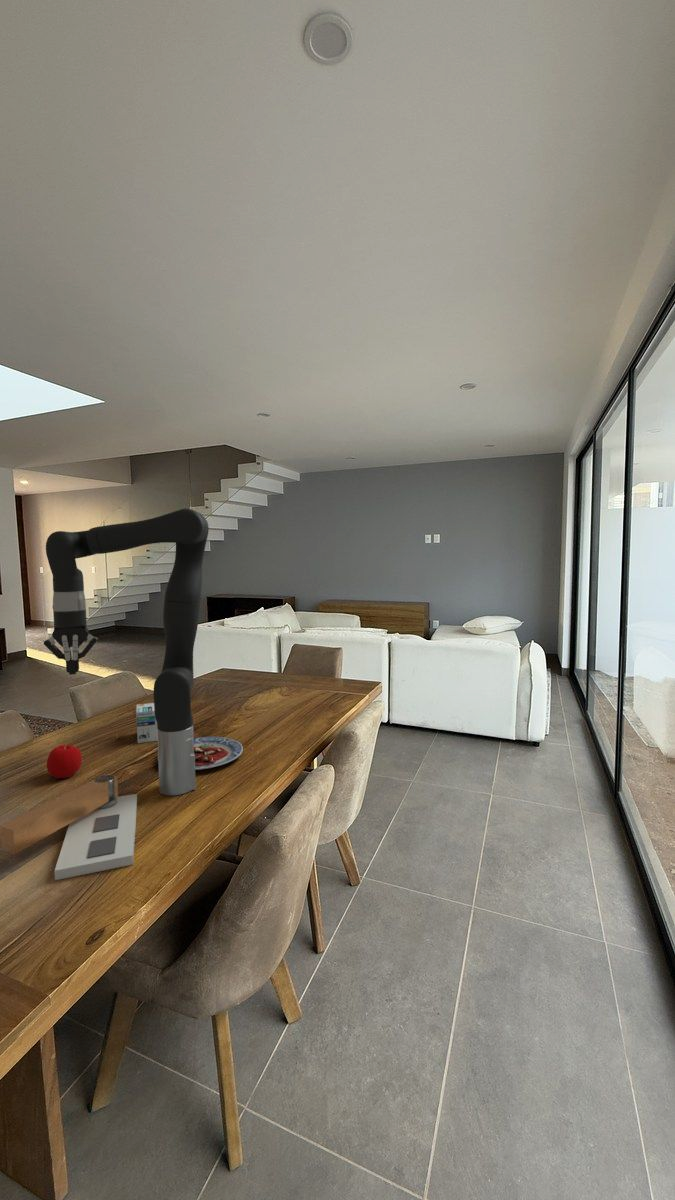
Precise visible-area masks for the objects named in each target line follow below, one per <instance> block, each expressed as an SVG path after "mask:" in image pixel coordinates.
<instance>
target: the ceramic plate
mask: <svg viewBox="0 0 675 1200" xmlns="http://www.w3.org/2000/svg"><path fill="white" fill-rule="evenodd" d="M243 751H244V748H243V745H242V743H240V741H237V740H236V739H232V738H229V737H228V738H227V737H223V736H203V737H194V755H195V771H196V770H199V771H200V770H204V769H205V770H206V769H212V768H215V767H220V766H223V765H226V764H228V763H230V762H233V761H235V760H236V759H238V758H239V757H240V756H241V755H242V754H243Z"/></svg>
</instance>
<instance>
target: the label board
mask: <svg viewBox="0 0 675 1200" xmlns="http://www.w3.org/2000/svg"><path fill="white" fill-rule="evenodd" d="M137 810H138V794H137V793H135V794H134V793H133V794H127V795H121V796H118V797H116V798H114V799H113V800H111V801H109V802H107V803H105V804H103V805H102V806H100V807H98V808H96V809H94V810H93V811H91V812H89V813H87V814H86V815H84V816H82V817H80V818H78V819H77V820H75V821H73V822H71V823H70V824H68V828H67V829H66V834H65V837H64V840H63V842H62V847H61V850H60V853H59V856H58V859H57V862H56V865H55V868H54V881H59V880H63V879H68V878H73V877H74V878H75V877H78V876H83V875H87V874H93V873H97V872H98V873H99V872H103V871H109V870H113V869H118V868H122V867H127V866H132V865H134V856H135V855H134V854H135V843H136V842H135V840H136V839H135V838H136V826H137V814H138V813H137V812H138V811H137ZM134 842H135V843H134Z"/></svg>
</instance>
